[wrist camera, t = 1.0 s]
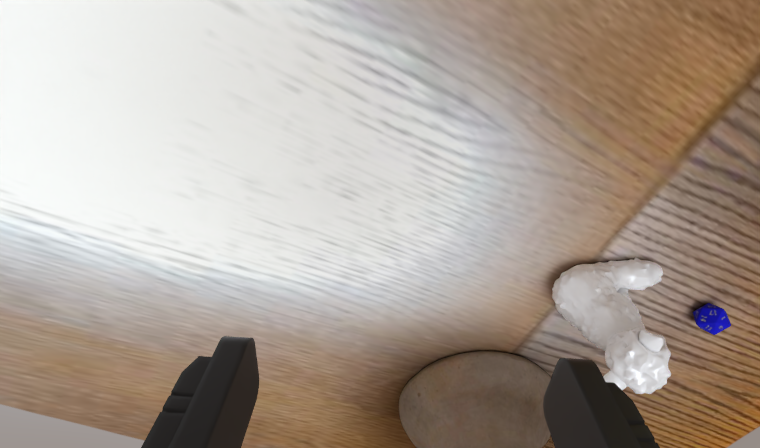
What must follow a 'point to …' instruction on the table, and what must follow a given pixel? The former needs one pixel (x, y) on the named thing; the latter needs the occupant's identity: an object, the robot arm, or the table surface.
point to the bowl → (476, 403)
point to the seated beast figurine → (616, 319)
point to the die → (711, 318)
